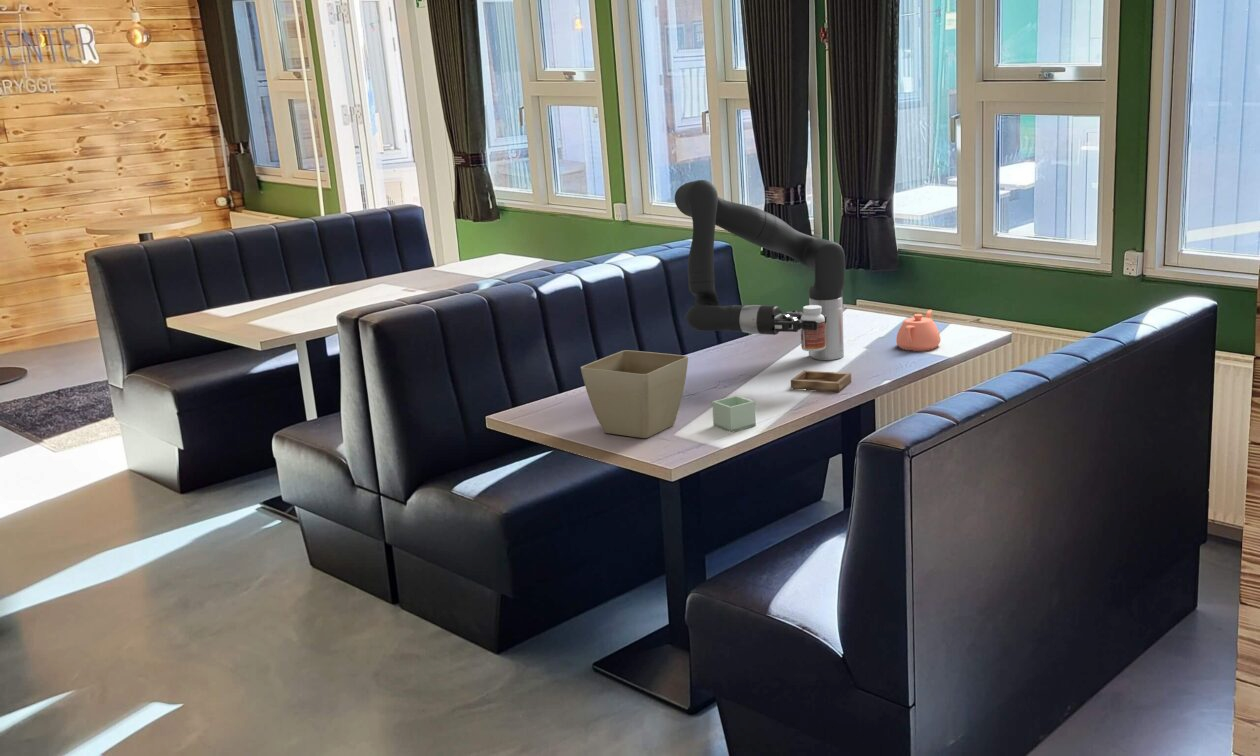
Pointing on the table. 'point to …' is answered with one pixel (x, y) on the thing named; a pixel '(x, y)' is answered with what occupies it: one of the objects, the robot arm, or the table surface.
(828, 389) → the tray
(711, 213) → the robot arm
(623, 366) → the flower pot
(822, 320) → the pill bottle
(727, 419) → the pale green bin
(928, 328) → the teapot
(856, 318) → the table surface
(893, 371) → the table surface
